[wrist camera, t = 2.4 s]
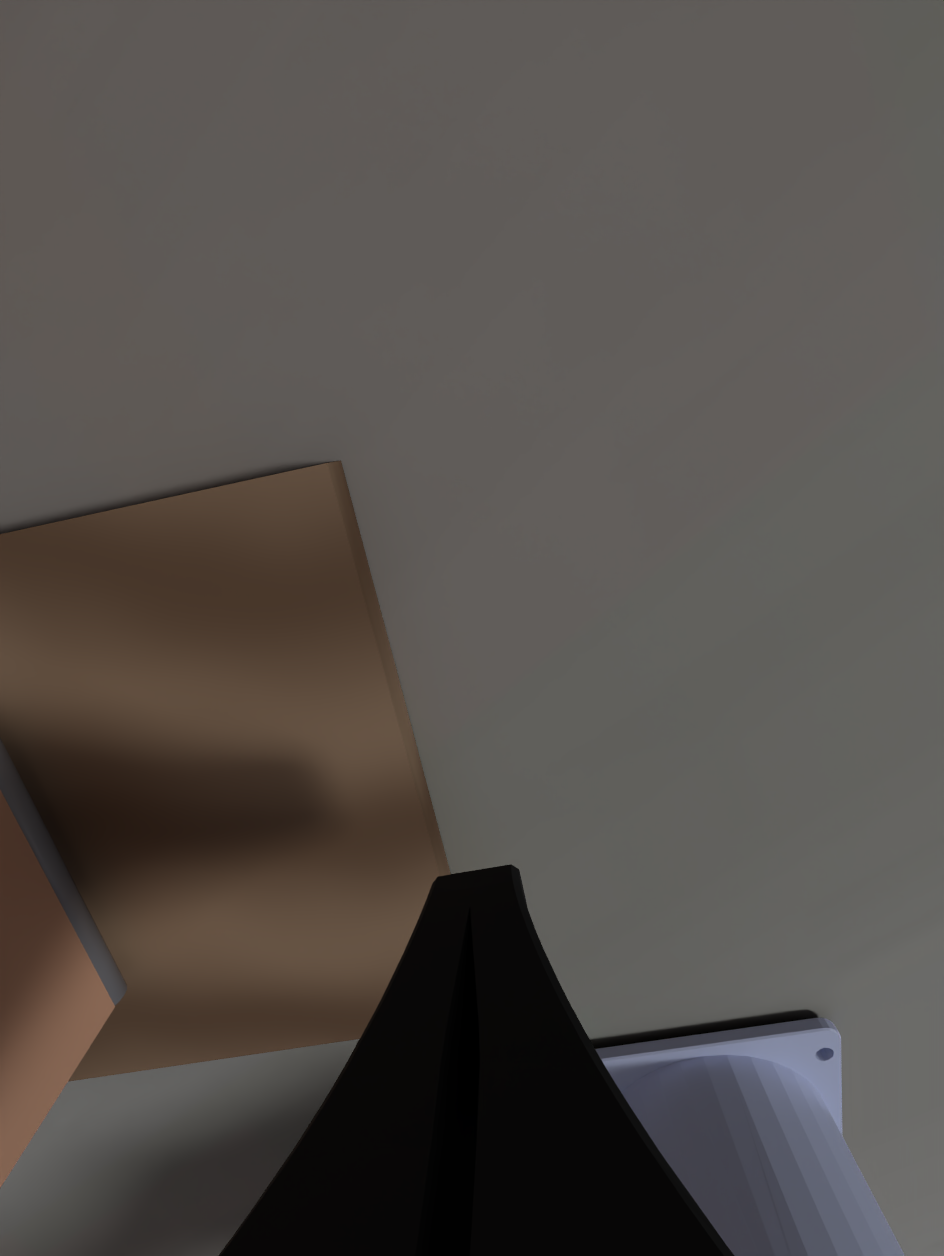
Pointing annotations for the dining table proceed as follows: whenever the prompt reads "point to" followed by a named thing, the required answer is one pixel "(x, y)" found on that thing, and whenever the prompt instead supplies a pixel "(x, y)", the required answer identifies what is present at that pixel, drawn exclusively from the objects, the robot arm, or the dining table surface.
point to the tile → (42, 970)
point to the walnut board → (220, 762)
